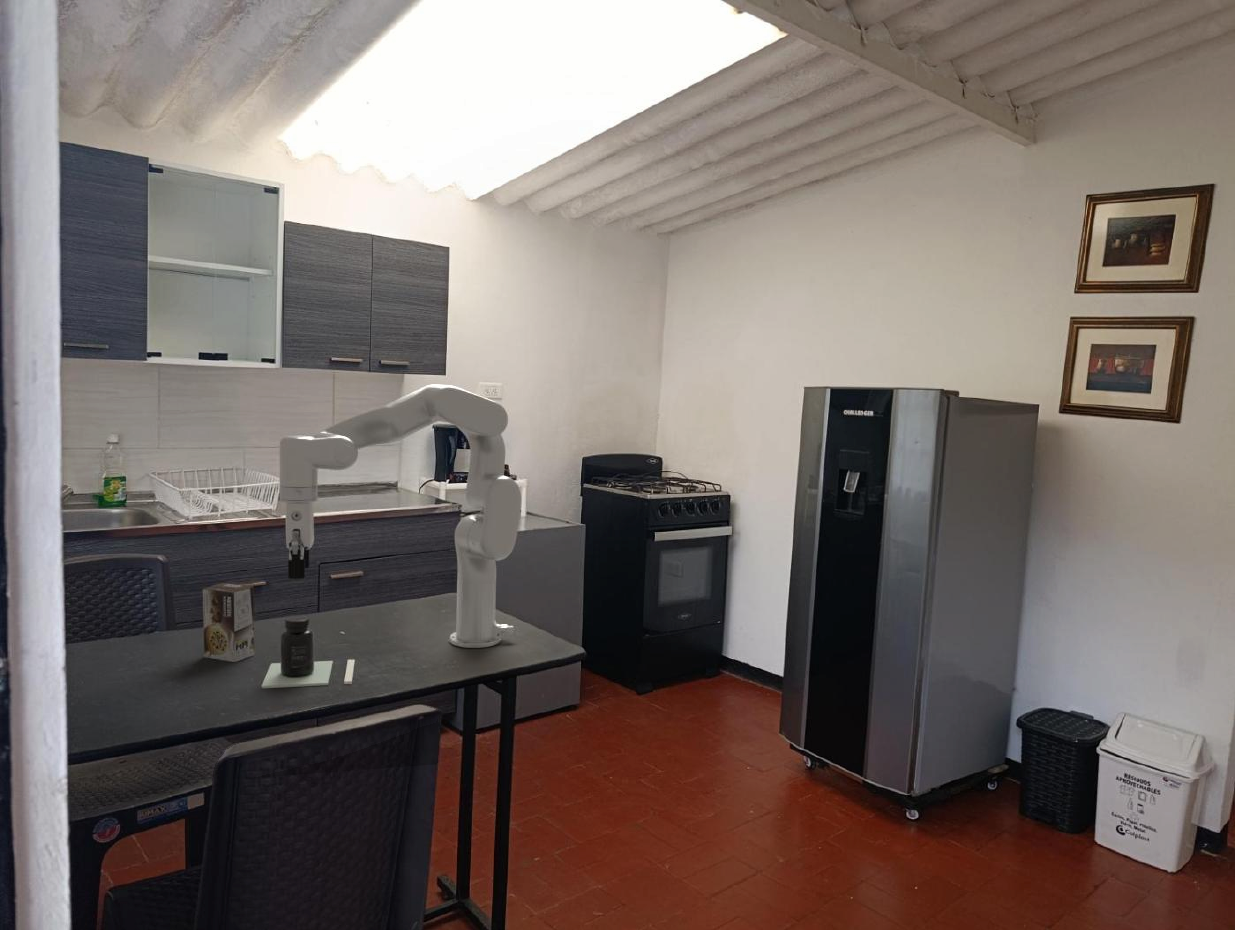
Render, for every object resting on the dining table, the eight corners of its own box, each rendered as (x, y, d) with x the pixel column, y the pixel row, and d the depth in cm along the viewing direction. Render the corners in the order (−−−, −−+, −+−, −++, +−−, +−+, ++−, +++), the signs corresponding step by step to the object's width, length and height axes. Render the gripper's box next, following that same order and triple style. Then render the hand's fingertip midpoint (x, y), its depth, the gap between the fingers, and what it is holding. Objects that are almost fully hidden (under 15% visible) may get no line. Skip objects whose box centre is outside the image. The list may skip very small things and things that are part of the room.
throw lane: (354, 662, 193) (354, 659, 193) (351, 683, 179) (351, 681, 179) (271, 665, 188) (271, 663, 188) (261, 688, 175) (261, 685, 175)
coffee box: (255, 654, 195) (255, 586, 193) (234, 663, 189) (234, 592, 187) (224, 649, 198) (223, 581, 196) (202, 657, 192) (201, 587, 190)
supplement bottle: (319, 668, 186) (320, 615, 185) (305, 679, 179) (305, 624, 178) (289, 666, 187) (289, 613, 185) (274, 677, 180) (274, 621, 179)
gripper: (314, 500, 173) (314, 582, 174) (320, 488, 189) (320, 563, 191) (274, 500, 171) (275, 583, 172) (284, 488, 187) (285, 564, 189)
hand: (299, 572), depth 182 cm, fingers open, 9 cm apart
